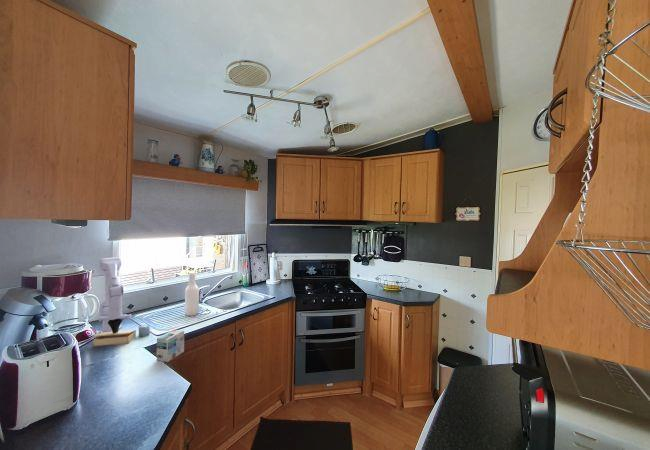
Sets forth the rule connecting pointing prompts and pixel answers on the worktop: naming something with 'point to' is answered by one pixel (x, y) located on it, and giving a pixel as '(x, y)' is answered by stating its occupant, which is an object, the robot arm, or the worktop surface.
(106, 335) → the lid
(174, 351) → the light bulb box
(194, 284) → the alcohol
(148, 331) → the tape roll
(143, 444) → the worktop surface
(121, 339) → the box
